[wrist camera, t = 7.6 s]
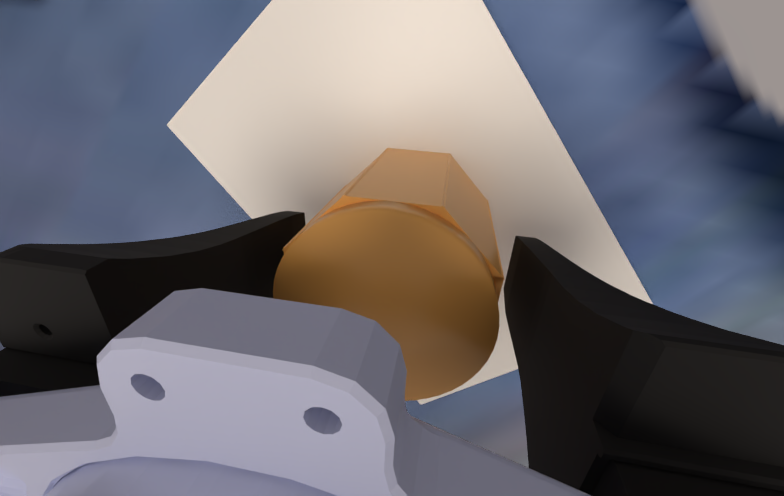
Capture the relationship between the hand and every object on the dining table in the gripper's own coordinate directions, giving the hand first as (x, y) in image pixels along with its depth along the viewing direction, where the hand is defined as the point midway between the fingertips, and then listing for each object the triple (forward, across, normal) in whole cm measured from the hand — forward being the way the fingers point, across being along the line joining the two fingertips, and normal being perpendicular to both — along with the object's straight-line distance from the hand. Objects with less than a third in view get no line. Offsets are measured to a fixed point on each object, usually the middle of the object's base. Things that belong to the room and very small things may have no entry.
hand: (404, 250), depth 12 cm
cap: (+3, 0, 0) cm, 3 cm away
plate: (+4, 0, 0) cm, 4 cm away
